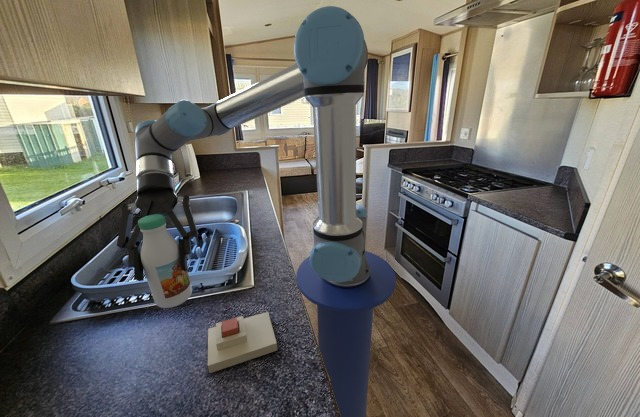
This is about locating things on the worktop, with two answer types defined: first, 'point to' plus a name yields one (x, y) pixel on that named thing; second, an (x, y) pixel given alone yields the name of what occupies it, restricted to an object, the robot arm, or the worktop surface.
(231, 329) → the red switch button
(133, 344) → the worktop surface
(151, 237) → the milk bottle
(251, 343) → the light switch
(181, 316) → the worktop surface
